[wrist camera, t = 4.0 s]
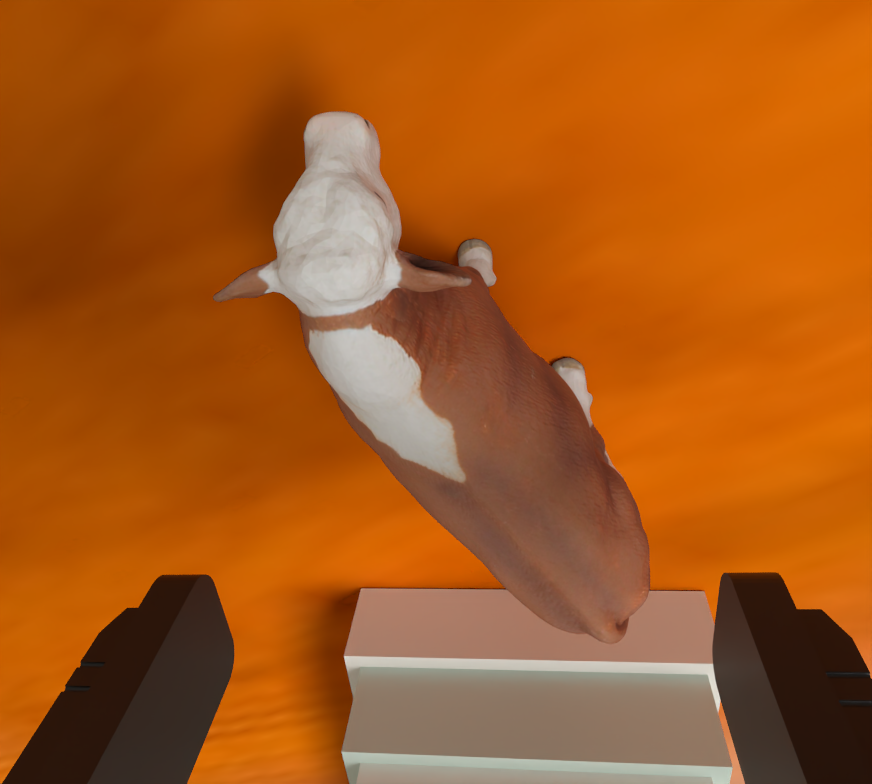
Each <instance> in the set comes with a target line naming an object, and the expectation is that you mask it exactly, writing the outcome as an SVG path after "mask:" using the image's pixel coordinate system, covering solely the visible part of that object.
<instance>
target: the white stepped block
mask: <svg viewBox="0 0 872 784" xmlns="http://www.w3.org/2000/svg"><path fill="white" fill-rule="evenodd" d="M714 627H715V625H714V622H713V619H712V615H711V612H710V609H709V605H708V602H707V599H706V595H705V592H704V591H649V593H648V597H647V599H646V601H645V602H644V604H643V605H642V606H641V607H640V608H639V609H638V610H637V611H636V612H635V613H634V614H633V615H631V616H630V617H629V622H628V627H627V631H626V634H625V636H624V637H623V638H622V639H621V640H620V641H619V642H617V643H614V644H607V643H604V642H600V641H598V640H597V639H595V638H593V637H592V636H590V635H588V634H574V633H569V632H565V631H562V630H560V629H557V628H555V627H553V626H551V625H550V624H548V623H546V622H545V621H544V620H542V619H541V618H539V617H538V616H537V615H535V614H534V613H533V612H532V611H531V610H529V609H528V608H527V607H526V606H524V605H523V604H522V603H521V602H520V601H519V600H518V599H516V598H515V597H514V596H513V595H512V594H511V593H510V592H509V591H508V590H504V589H386V588H361V591H360V594H359V598H358V602H357V606H356V610H355V614H354V618H353V622H352V626H351V629H350V633H349V637H348V641H347V645H346V649H345V653H344V660H345V664H346V668H347V673H348V677H349V682H350V686H351V690H352V695H353V703H352V707H351V712H350V716H349V720H348V725H347V729H346V734H345V738H344V742H343V747H342V751H341V752H342V756H343V760H344V764H345V768H346V772H347V776H348V780H349V784H729V783H730V778H731V773H732V768H733V767H732V763H731V759H730V756H729V752H728V748H727V745H726V741H725V737H724V733H723V730H722V726H721V722H720V719H719V715H718V711H719V705H720V696H719V692H718V689H717V685H716V680H715V675H714V668H713V658H712V644H713V635H714Z"/></svg>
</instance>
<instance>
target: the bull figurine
mask: <svg viewBox="0 0 872 784" xmlns="http://www.w3.org/2000/svg"><path fill="white" fill-rule="evenodd" d="M304 143H305V163H306V170H305V171H304V173H303V174H302V176H301V177H300V178H299V180H298V182H297V183H296V185H295V187H294V188H293V190H292V192H291V193H290V194H289V196H288V197H287V199H286V200H285V202H284V203H283V206H282V208H281V211H280V214H279V216H278V218H277V220H276V222H275V224H274V229H273V237H274V242H275V246H276V249H277V259H275V260H274V261H272V262H269V263H266V264H264V265H261V266H258V267H255V268H252V269H250V270H248V271H246V272H245V273H243V274H241V275H240V276H239V277H238V278H236V279H235V280H234V281H233V282H231V283H230V284H229V285H228V286H226V287H225V288H224V289H223V290H221V291H219V292H218V293H216V294H215V295H214V296H213V299H214V300H215V301H218V302H222V301H226V300H230V299H234V298H256V297H259V296H261V295H264V294H266V293H270V292H278V293H281V294H283V295H285V296H286V297H287V298H289V299H290V300H291V301H292V302H293V303H295V304H296V305H297V307H298V309H299V312H300V321H301V328H302V332H303V336H304V342H305V346H306V348H307V351H308V353H309V355H310V357H311V359H312V361H313V362H314V364H315V365H316V367H317V368H318V370H319V371H320V373H321V374H322V376H323V377H324V378H325V379H326V380H327V381H328V383H329V385H330V387H331V389H332V391H333V394H334V396H335V397H336V399H337V402H338V404H339V407H340V409H341V411H342V413H343V414H344V416H345V418H346V420H347V421H348V423H349V424H350V425H351V427H352V428H353V429H354V430H355V431H356V433H357V434H358V435H359V436H360V437H361V438H362V439H363V440H364V441H365V442H366V443H367V444H368V445H369V446H370V447H371V448H372V449H373V450H374V451H375V452H376V453H377V454H378V455H379V456H380V458H381V459H382V461H383V462H384V464H385V465H386V466H387V467H388V469H389V470H390V471H391V472H392V474H393V475H394V476H395V477H396V479H397V480H398V481H399V482H400V483H401V484H402V485H403V486H404V487H405V488H406V489H407V490H408V491H409V492H410V493H411V494H412V495H413V496H414V498H415V499H416V500H417V501H418V502H419V503H420V504H421V505H422V506H423V507H424V509H425V510H426V511H427V512H428V513H429V514H430V515H431V516H432V517H434V518H435V519H436V520H437V521H438V522H439V523H440V524H441V525H442V526H443V527H444V528H445V529H447V530H448V531H449V532H450V533H451V534H452V535H453V536H454V537H455V538H456V539H457V540H459V541H460V542H461V543H462V544H463V545H464V546H465V547H467V548H468V549H469V550H470V551H471V552H472V553H473V554H474V555H475V556H476V557H477V558H478V559H479V560H480V561H482V562H483V564H484V565H485V566H486V567H487V568H488V569H489V571H490V572H491V573H492V574H493V575H494V577H495V578H496V579H497V580H498V581H499V582H500V583H501V584H502V585H503V586H504V587H505V588H506V589H507V590H508V591H509V592H510V593H511V594H512V595H513V596H514V597H515V598H516V599H518V600H519V601H520V602H521V603H522V604H523V605H524V606H526V607H527V608H528V609H529V610H531V611H532V612H533V613H534V614H535V615H537V616H538V617H539V618H541V619H542V620H544V621H545V622H546V623H548V624H550V625H551V626H553V627H555V628H557V629H560V630H562V631H565V632H569V633H574V634H588V635H590V636H592V637H593V638H595V639H597V640H598V641H600V642H604V643H607V644H614V643H617V642H619V641H620V640H621V639H622V638H623V637H624V636H625V634H626V631H627V627H628V622H629V617H630V616H631V615H633V614H634V613H635V612H636V611H637V610H638V609H639V608H640V607H641V606H642V605H643V604H644V602H645V601H646V599H647V597H648V593H649V590H650V568H649V545H648V540H647V536H646V533H645V531H644V529H643V527H642V524H641V519H640V514H639V510H638V507H637V505H636V502H635V500H634V498H633V496H632V494H631V492H630V491H629V489H628V487H627V484H626V482H625V481H624V479H623V477H622V476H621V474H620V473H619V472H618V471H617V470H616V469H615V467H614V466H613V464H612V462H611V460H610V458H609V456H608V454H607V452H606V450H605V444H604V440H603V438H602V436H601V435H600V434H599V433H598V431H597V430H596V428H595V427H594V425H593V423H592V420H591V417H590V412H589V410H590V405H591V403H592V400H593V397H592V395H591V394H590V393H589V392H588V391H587V387H586V379H585V371H584V367H583V366H582V365H581V363H579V362H578V361H576V360H575V359H572V358H563V359H560V360H558V361H556V362H554V363H553V365H552V366H550V365H549V364H548V363H547V362H546V361H545V360H544V359H542V358H541V357H539V356H538V355H537V354H535V353H534V352H532V351H531V350H530V349H529V347H528V346H527V345H526V343H525V342H524V341H523V339H522V338H521V337H520V336H519V335H518V334H517V332H516V331H515V330H514V329H513V328H512V326H511V325H510V324H509V323H508V322H507V320H506V319H505V317H504V316H503V314H502V313H501V311H500V309H499V308H498V306H497V305H496V303H495V301H494V300H493V299H492V297H491V296H490V294H489V289H488V287H489V286H492V285H494V284H495V282H496V276H495V274H494V273H493V271H492V252H491V249H490V247H489V246H488V244H486V243H485V242H484V241H482V240H478V239H471V240H467V241H465V242H464V243H462V244H461V246H460V247H459V250H458V262H459V266H454V265H452V264H448V263H445V262H441V261H434V260H428V259H425V258H422V257H420V256H417V255H414V254H411V253H407V252H403V251H401V250H399V249H398V244H399V241H400V238H401V221H400V214H399V210H398V207H397V204H396V203H395V201H394V198H393V195H392V193H391V191H390V189H389V187H388V185H387V184H386V182H385V181H384V179H383V177H382V176H381V173H380V170H379V163H380V145H379V140H378V136H377V132H376V130H375V128H374V127H373V125H372V124H371V123H370V122H369V121H368V120H365V119H363V118H362V117H360V116H359V115H358V114H355V113H351V112H326V113H322V114H318V115H315V116H313V117H312V118H311V119H310V120H309V121H308V123H307V126H306V128H305V131H304Z"/></svg>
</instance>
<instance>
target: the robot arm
mask: <svg viewBox="0 0 872 784" xmlns="http://www.w3.org/2000/svg"><path fill="white" fill-rule="evenodd" d="M712 658H713V668H714V675H715V680H716V685H717V689H718V692H719V696H720V699H721V702H722V706H723V709H724V713H725V716H726V720H727V723H728V726H729V730H730V733H731V737H732V740H733V743H734V747H735V750H736V754H737V757H738V760H739V764H740V767H741V771H742V774H743V777H744V781H745V784H872V679H871V678H870V672H869V670H868V668H867V666H866V664H865V662H864V660H863V658H862V656H861V654H860V653H859V651H858V649H857V647H856V645H855V643H854V641H853V639H852V638H851V637H850V636H849V635H848V634H847V633H846V632H845V631H844V630H843V629H842V628H841V627H839V626H838V625H837V624H836V623H835V622H834V621H833V620H832V619H831V618H830V617H829V616H828V615H827V614H826V613H825V612H824V611H822V610H821V609H796V606H795V604H794V602H793V600H792V598H791V596H790V593H789V591H788V589H787V587H786V585H785V583H784V581H783V579H782V577H781V576H780V575H779V574H778V573H724V574H723V575H722V577H721V581H720V588H719V596H718V604H717V612H716V619H715V627H714V635H713V644H712ZM233 663H234V643H233V638H232V635H231V632H230V629H229V626H228V623H227V620H226V617H225V614H224V611H223V608H222V605H221V602H220V599H219V596H218V593H217V590H216V587H215V584H214V582H213V580H212V578H211V577H210V576H208V575H162V576H160V577H158V578H157V579H156V580H155V582H154V583H153V584H152V586H151V588H150V589H149V591H148V593H147V594H146V596H145V598H144V599H143V601H142V603H141V604H140V606H139V608H127V609H125V610H124V611H123V612H122V613H121V614H120V615H119V616H118V617H116V618H115V619H114V620H113V621H112V622H111V623H110V624H109V625H107V626H106V627H105V628H104V629H103V630H102V631H101V632H100V633H99V634H98V636H97V637H96V639H95V640H94V642H93V643H92V645H91V646H90V648H89V650H88V651H87V653H86V654H85V656H84V657H83V659H82V660H81V666H80V668H76V670H75V671H74V673H73V674H72V676H71V677H70V679H69V681H68V682H67V684H66V685H65V687H66V688H65V691H64V692H61V693H60V695H59V696H58V698H57V699H56V701H55V702H54V704H53V705H52V707H51V708H50V710H49V712H48V713H47V715H46V716H45V718H44V719H43V721H42V722H41V724H40V726H39V727H38V729H37V730H36V732H35V733H34V735H33V736H32V738H31V740H30V741H29V743H28V744H27V746H26V747H25V749H24V750H23V752H22V754H21V755H20V757H19V758H18V760H17V761H16V763H15V764H14V766H13V767H12V769H11V771H10V772H9V774H8V775H7V777H6V778H5V780H4V781H3V783H2V784H187V782H188V779H189V777H190V775H191V772H192V770H193V767H194V765H195V762H196V760H197V758H198V755H199V753H200V750H201V748H202V745H203V743H204V741H205V738H206V736H207V733H208V731H209V728H210V726H211V724H212V721H213V719H214V716H215V714H216V711H217V709H218V707H219V704H220V702H221V699H222V697H223V694H224V692H225V690H226V687H227V685H228V682H229V680H230V677H231V673H232V669H233Z"/></svg>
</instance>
